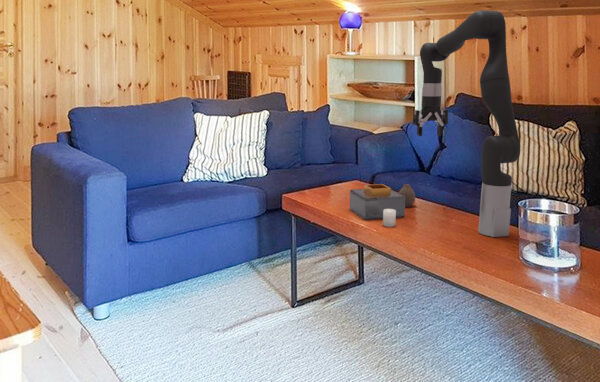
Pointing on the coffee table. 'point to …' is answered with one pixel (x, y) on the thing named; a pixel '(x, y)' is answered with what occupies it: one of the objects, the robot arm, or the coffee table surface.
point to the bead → (389, 217)
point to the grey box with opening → (376, 201)
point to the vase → (408, 195)
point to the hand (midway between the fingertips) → (429, 135)
